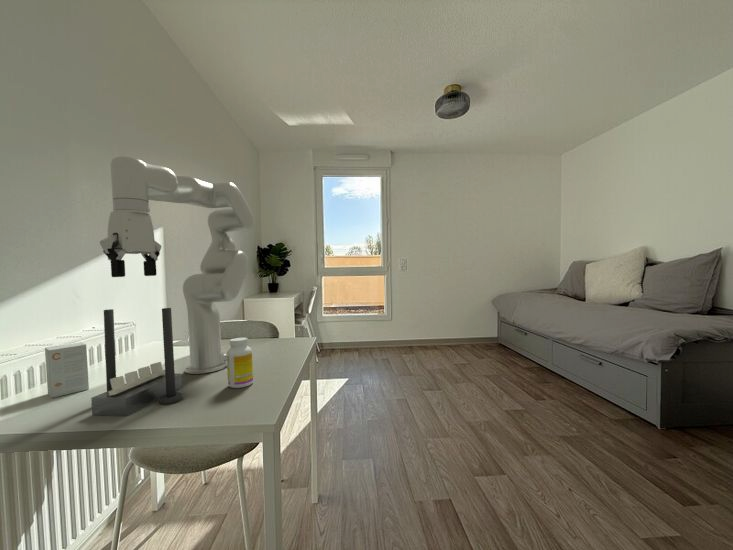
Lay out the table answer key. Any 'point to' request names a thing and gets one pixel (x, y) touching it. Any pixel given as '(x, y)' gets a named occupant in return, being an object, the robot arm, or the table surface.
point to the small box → (66, 369)
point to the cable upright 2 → (169, 361)
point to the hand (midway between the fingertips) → (135, 276)
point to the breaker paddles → (135, 378)
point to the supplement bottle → (239, 363)
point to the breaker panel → (132, 397)
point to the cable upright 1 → (109, 346)
